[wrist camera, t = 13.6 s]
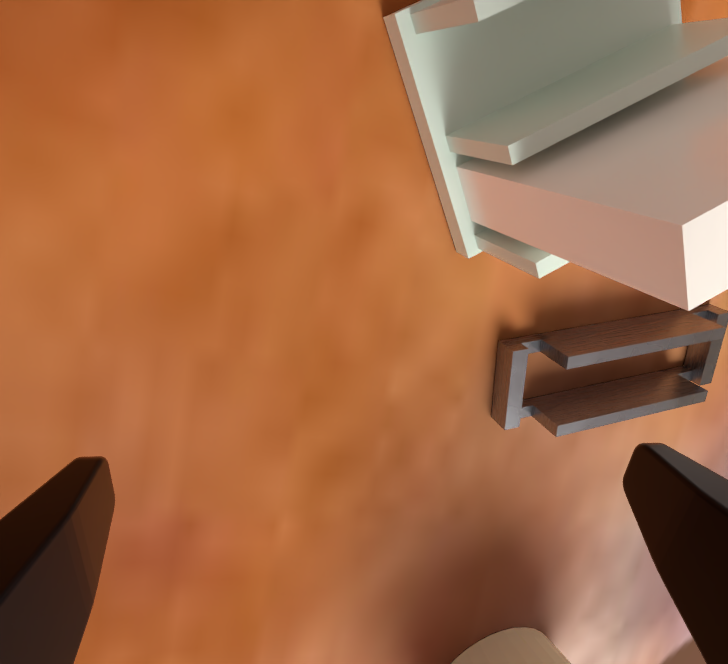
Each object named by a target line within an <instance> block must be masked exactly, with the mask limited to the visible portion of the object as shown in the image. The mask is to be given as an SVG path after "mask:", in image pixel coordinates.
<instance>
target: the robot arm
mask: <svg viewBox="0 0 728 664" xmlns="http://www.w3.org/2000/svg"><path fill="white" fill-rule="evenodd" d="M623 488H624V491H625V494H626V497H627V499H628V501H629V504H630V506H631V509H632V511H633V513H634V516H635V518H636V521H637V523H638V526H639V528H640V530H641V533H642V535H643V538H644V540H645V543H646V545H647V547H648V550H649V552H650V555H651V557H652V559H653V562H654V564H655V566H656V568H657V570H658V572H659V574H660V576H661V578H662V580H663V582H664V584H665V586H666V588H667V590H668V592H669V594H670V596H671V598H672V599H673V601H674V603H675V605H676V607H677V609H678V611H679V613H680V615H681V616H682V618H683V620H684V622H685V624H686V626H687V628H688V630H689V631H690V633H691V635H692V637H693V639H694V641H695V643H696V645H697V647H698V648H699V650H700V652H701V654H702V656H703V658H704V660H705V662H706V663H707V664H728V480H727V479H726V478H724V477H722V476H720V475H718V474H717V473H715V472H713V471H711V470H710V469H708V468H706V467H704V466H702V465H701V464H699V463H697V462H695V461H693V460H692V459H690V458H688V457H686V456H685V455H683V454H681V453H679V452H677V451H676V450H674V449H672V448H670V447H668V446H667V445H665V444H662V443H642V444H639V445H638V446H637V447H636V448H635V449H634V452H633V454H632V457H631V459H630V462H629V464H628V467H627V469H626V472H625V474H624V477H623ZM114 505H115V494H114V489H113V484H112V479H111V474H110V469H109V464H108V462H107V460H106V458H104V457H101V456H96V457H78V458H76V459H74V460H73V461H72V462H71V463H69V464H68V465H67V466H66V467H64V468H63V469H62V470H61V471H59V472H58V473H57V474H56V475H55V476H53V477H52V478H51V479H50V480H48V481H47V482H46V483H45V484H43V485H42V486H41V487H40V488H39V489H37V490H36V491H35V492H34V493H32V494H31V495H30V496H29V497H27V498H26V499H25V500H24V501H23V502H21V503H20V504H19V505H18V506H16V507H15V508H14V509H13V510H12V511H10V512H9V513H8V514H7V515H5V516H4V517H3V518H2V519H0V664H74V661H75V658H76V655H77V652H78V649H79V646H80V643H81V640H82V637H83V634H84V631H85V628H86V625H87V622H88V619H89V616H90V613H91V609H92V606H93V603H94V599H95V595H96V590H97V586H98V581H99V577H100V572H101V568H102V563H103V558H104V554H105V549H106V544H107V540H108V535H109V530H110V526H111V521H112V516H113V512H114Z"/></svg>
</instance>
